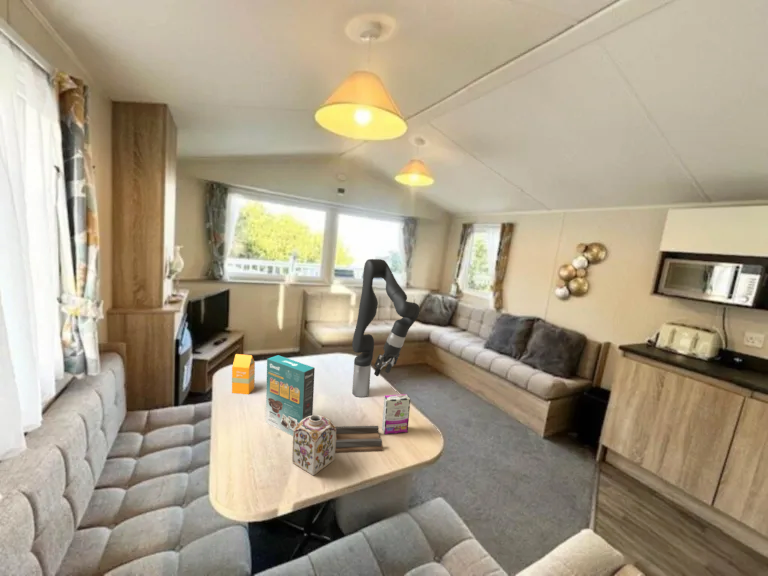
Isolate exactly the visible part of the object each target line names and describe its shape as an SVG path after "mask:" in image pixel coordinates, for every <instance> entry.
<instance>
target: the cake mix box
mask: <svg viewBox="0 0 768 576" xmlns="http://www.w3.org/2000/svg"><path fill="white" fill-rule="evenodd" d="M266 359H267V360H266V395H265V396H266V397H265V399H266V400H265V424H267V425H270V426H272V427H274V428H276V429H277V430H280V431H282V432H284V433H286V434H288V435H290V436H292V437H293V431H294V429H295V428H296V426H297V425H298V424H299V423H300V421H301V420H303V419H304V418H306V417H308V416H312V415H314V414H313V413H314V393H315V392H314V391H315V390H314V389H315V371H316V370H315V367H314V366H310V365H308V364H305V363H301V362H300V361H299V362H298V361H296V360H294V359H291V358H287V357H286V356H281V355H279V354H278V355H274V356H272V357H269V358H266Z"/></svg>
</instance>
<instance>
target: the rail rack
mask: <svg viewBox="0 0 768 576" xmlns="http://www.w3.org/2000/svg"><path fill="white" fill-rule="evenodd" d="M379 427H380V426H379V425H352V426H346V425H344V426H340V425H339V426H335V428H336V448H335V453H353V452H354V453H355V452H356V453H357V452H379V451H380V452H382V451H383V447H382V443H383V439H382V438H381V437H380V435H379Z"/></svg>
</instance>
